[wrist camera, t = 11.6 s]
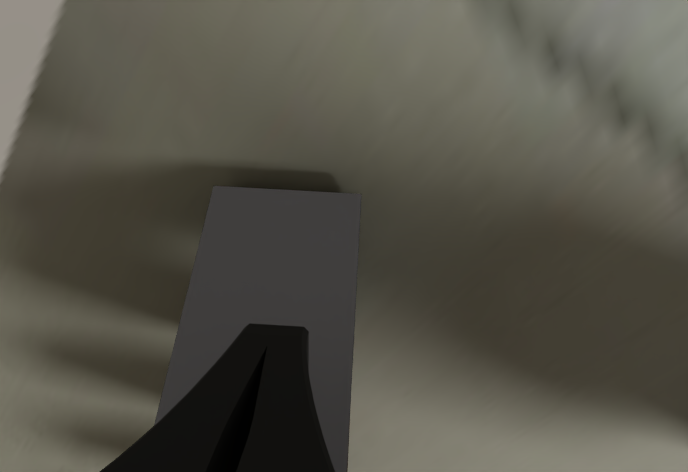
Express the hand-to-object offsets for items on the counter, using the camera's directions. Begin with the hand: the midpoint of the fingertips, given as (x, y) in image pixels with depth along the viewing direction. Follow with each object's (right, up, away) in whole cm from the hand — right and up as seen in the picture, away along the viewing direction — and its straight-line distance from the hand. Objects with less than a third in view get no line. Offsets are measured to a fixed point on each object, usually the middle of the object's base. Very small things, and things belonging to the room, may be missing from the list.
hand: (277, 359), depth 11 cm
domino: (0, +4, +6) cm, 7 cm away
